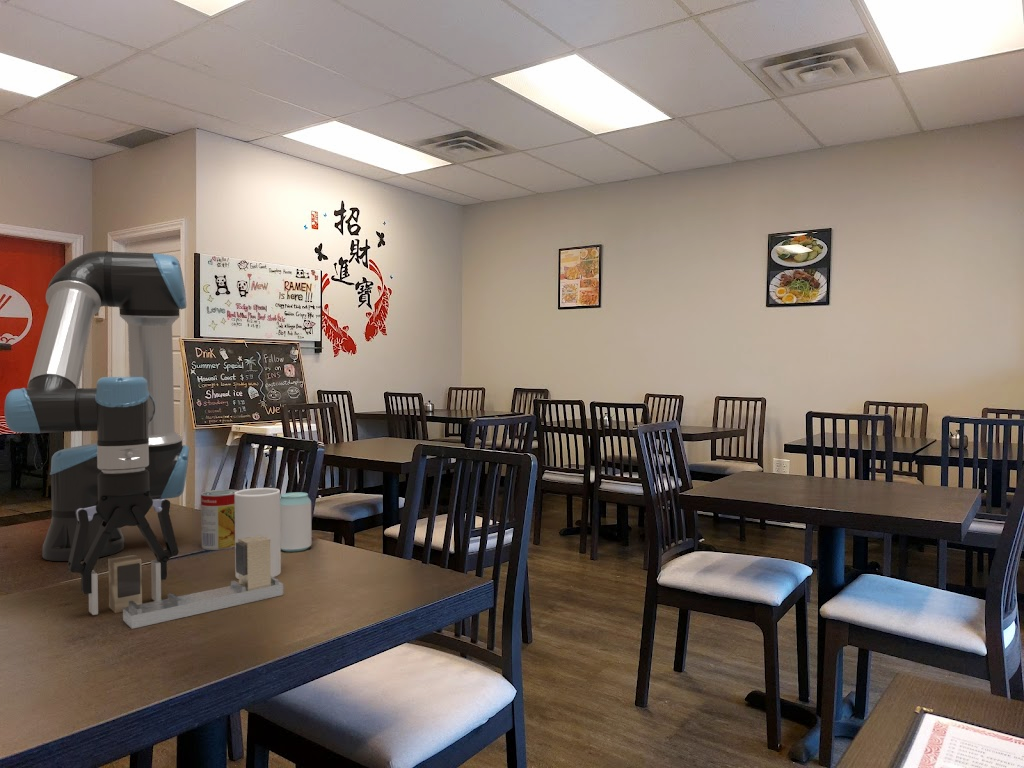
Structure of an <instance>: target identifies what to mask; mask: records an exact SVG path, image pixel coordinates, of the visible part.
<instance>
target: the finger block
mask: <svg viewBox="0 0 1024 768" xmlns="http://www.w3.org/2000/svg"><path fill="white" fill-rule="evenodd" d="M107 562H108V563H107V564H108V565H107V566H108V607H109V609H110V610H112V611H113V612H114V614H117V613H123V608H124V607H129V603H128V602H129V601H134V602H135V603H136V604H137V605H139V604H143V580H142V579H143V576H142V575H143V571H142V570H143V569H142V568H143V567H142V566H143V565H142V564H143V563H142V562H143V561H142V559H141V558H140V557H139V556H138V555H136V554H132V555H126V556H121V557H120V556H119V557H113V558H108V561H107Z"/></svg>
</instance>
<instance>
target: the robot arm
mask: <svg viewBox="0 0 1024 768" xmlns="http://www.w3.org/2000/svg"><path fill="white" fill-rule="evenodd" d="M186 296H187V294H186V289H185V281H184V276H183V272H182V267H181V263H180V261H179V259H178V258H177V257H176V256H173V255H169V254H164V253H163V254H162V253H156V252H153V253H151V252H150V253H149V252H126V251H108V250H98V251H97V250H96V251H90V252H87V253H84V254H81V255H78V256H77V257H75V258H73V259H71V260H70V261H68V262H67V263H65V264H64V265H63V266H62V267H61V268H60V269H59V270H58V271H57V272H55V274H54V276H53V277H52V278H51V280H50V282H49V283H48V286H47V289H46V293H45V301H46V304H47V306H48V309H47V312H46V315H45V320H44V323H43V327H42V331H41V335H40V338H39V342H38V346H37V349H36V354H35V356H34V360H33V363H32V368H31V370H30V373H29V374H30V375H29V378H28V382H27V387H22V388H15V389H11V390H10V391H9V392H8V393H7V395H6V396H5V400H4V419H5V423H6V425H7V427H8V429H9V430H10V431H11V432H13V433H17V434H19V433H23V434H41V433H42V434H44V433H46V434H47V433H66V432H67V433H68V432H97V434H96V435H97V437H96V438H97V441H96V442H97V443H90V444H85V445H84V444H83V445H78V446H72V447H68V448H63V449H59V450H58V451H56V452H54V454H53V455H52V456H51V461H50V472H49V475H50V491H51V492H50V494H51V496H50V497H51V498H50V499H51V522H50V524H49V526H48V530H47V532H46V535H45V539H44V542H43V544H42V547H41V549H42V556H41V557H42V558H43V559H44V560H46V561H51V562H52V561H53V562H67V565H66V566H67V569H68V570H69V571H70V572H71V573H77V574H80V586H81V589H80V590H81V592H82V594H83V595H88V612H89V613H90V614H91V615H92V616H97V615H98V614H99V589H98V587H99V586H98V584H99V582H98V579H99V577H98V576H99V574H98V573H97V572H96V571H95V570H94V568H95V566H96V565H97V562H98V561H99V559H100V558H102V557H106V556H110V555H114V554H117V553H119V552H121V551H123V550H124V549H125V538H124V537H125V536H124V535H123V533H122V530H121V528H123V527H135V526H136V527H137V528H138V529H139V531H140V533H141V535H142V537H143V538H144V539H145V541H146V543H147V544H148V546H149V548H150V549H151V551H152V554H154V555H153V556H154V557H155V558H156V559H154V560H153V559H152V560H150V568H151V570H150V573H151V574H150V575H151V578H150V579H151V581H150V582H151V584H150V585H151V599H152V600H153V602H154V601H159V600H162V581H164V580H166V579H167V577H168V574H167V573H168V567H167V566H168V564H167V562H168V561H169V559H170V558H172V557H176V556H177V555H178V554H179V552H180V551H179V547H178V544H177V540H176V536H175V532H174V528H173V524H172V521H171V520H172V519H171V516H170V508H171V500H169V499H175V498H179V497H180V496H182V495H183V494H184V491H185V486H186V480H187V471H188V466H189V457H190V446H189V445H186V444H184V445H183V437H182V436H180V435H179V434H178V433H177V431H175V397H174V396H175V395H174V393H175V391H174V353H173V352H174V349H173V324H174V323H175V322H176V321H177V320H178V319H179V318H180V310H184V309H186V308H187V306H188V305H187V297H186ZM102 307H110V308H111V307H112V308H119V310H118V311H119V317H120V318H121V319H122V320H123V321H125V322H126V323H127V332H128V333H127V334H128V335H127V336H128V337H127V338H128V340H127V341H128V364H129V365H128V366H129V369H128V370H129V371H128V373H129V374H128V375H129V376H104V377H103V376H102V377H100V378H99V379H98V380H97V382H96V388H95V387H94V388H93V387H92V388H91V387H89V388H84V387H83V388H82V387H81V388H80V387H79V386H80V385H79V384H80V381H81V376H82V370H83V367H84V366H83V365H84V360H85V355H86V351H87V347H88V341H89V336H90V331H91V327H92V322H93V317H94V316H95V315H96V314H98V312H99V311H100V309H101V308H102ZM152 507H153V510H154V511H155V512H156V513H157V518H158V522H159V525H160V529H161V534H162V538H163V541H164V545H165V549H164V548H163V546H162V544H161V543H160V541H159V540H158V538H157V536H156V535H155V533H154V531H153V529H152V528H151V526H150V523H149V521H148V520H147V518H146V515H147V513H148V512H149V511H150V509H151V508H152ZM82 560H83V561H82Z"/></svg>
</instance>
